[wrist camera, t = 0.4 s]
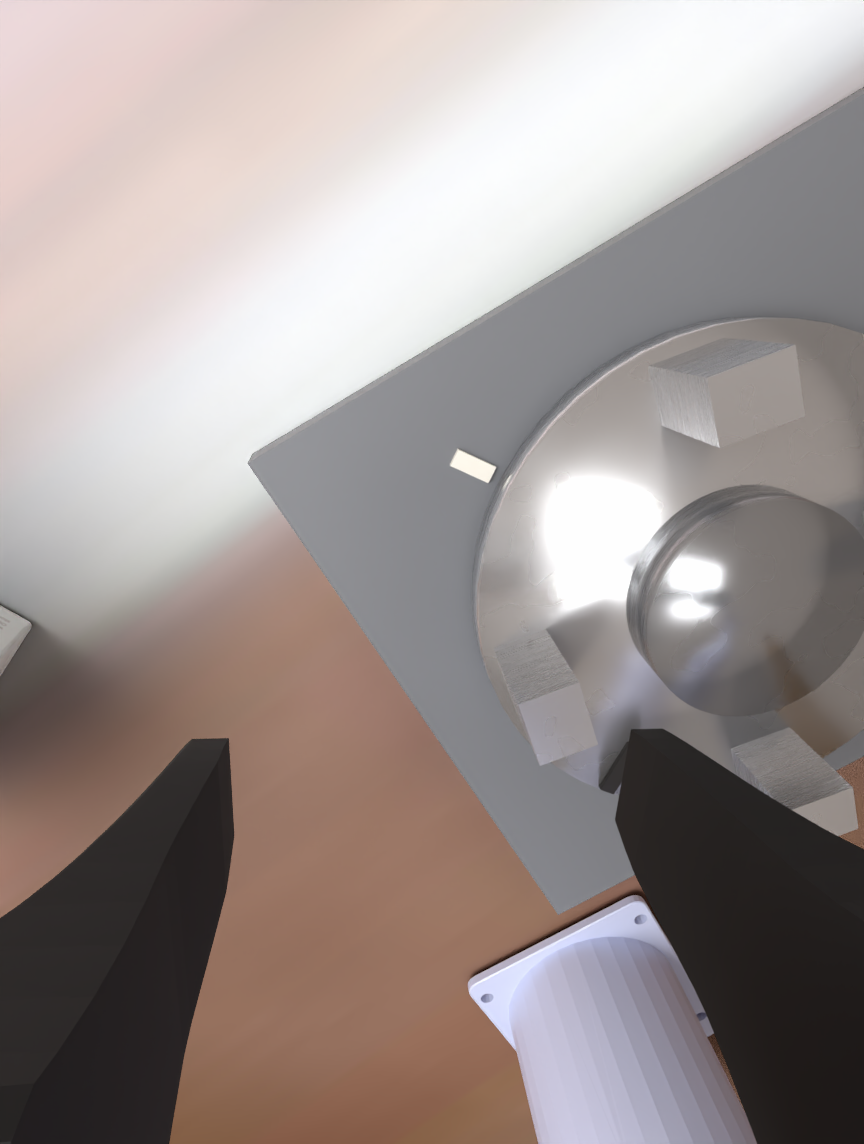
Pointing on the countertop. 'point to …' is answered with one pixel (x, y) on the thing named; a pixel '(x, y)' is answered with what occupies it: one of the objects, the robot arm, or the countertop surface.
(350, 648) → the countertop surface
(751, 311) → the cap plate
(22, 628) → the supplement box
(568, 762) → the domed lug disc
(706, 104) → the countertop surface
